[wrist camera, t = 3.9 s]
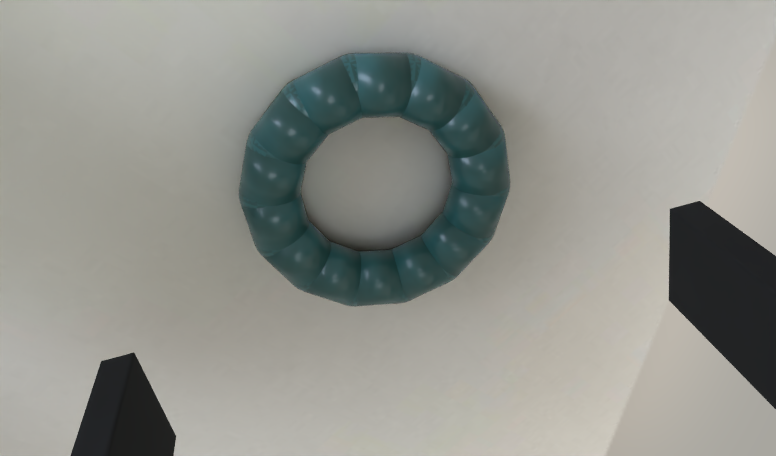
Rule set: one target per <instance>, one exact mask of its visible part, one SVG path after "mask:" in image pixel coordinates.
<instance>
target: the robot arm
mask: <svg viewBox="0 0 776 456" xmlns="http://www.w3.org/2000/svg"><path fill="white" fill-rule="evenodd" d="M669 301H670V302H671V303H672V304H673V305H674V306H675V307H676V308H677V309H678V310H679V311H680V312H681V313H682V314H683V315H684V316H685V317H686V318H687V319H688V320H689V321H690V322H691V323H692V324H693V325H694V326H695V327H696V328H697V329H698V330H699V331H700V332H701V333H702V334H703V335H704V336H705V337H706V339H707V340H708V341H709V342H710V343H711V344H712V345H713V346H714V347H715V348H716V349H717V350H718V351H719V352H720V353H721V354H722V355H723V356H724V357H725V358H726V359H727V360H728V361H729V362H730V363H731V364H732V365H733V366H734V367H735V368H736V369H737V370H738V371H739V372H740V373H741V374H742V375H743V376H744V377H745V378H746V379H747V380H748V381H749V382H750V383H751V384H752V386H754V388H755V389H756V390H757V391H758V392H759V393H760V394H761V395H762V396H763V397H764V398H765V399H767V401H768V402H769V403H770V404H771V405H772V406H773V407H774V408H775V409H776V256H775V255H773V254H772V253H771V252H769V251H768V250H766V249H765V248H764V247H762V246H761V245H760V244H758V243H757V242H755V241H754V240H753V239H751V238H750V237H749V236H747V235H746V234H744V233H743V232H742V231H740V230H739V229H738V228H736V227H735V226H733V225H732V224H731V223H729V222H728V221H727V220H725V219H724V218H722V217H721V216H720V215H718V214H717V213H716V212H714V211H713V210H711V209H710V208H709V207H707V206H706V205H705V204H703V203H702V202H700V201H698V202H694V203H690V204H687V205H683V206H679V207H675V208H672V209H670V251H669ZM175 440H176V435H175V433H174V431H173V429H172V427H171V425H170V423H169V421H168V419H167V417H166V415H165V413H164V411H163V409H162V407H161V405H160V403H159V401H158V399H157V397H156V395H155V393H154V391H153V389H152V387H151V385H150V383H149V381H148V379H147V377H146V375H145V373H144V371H143V369H142V367H141V365H140V363H139V361H138V359H137V357H136V355H135V353H130V354H127V355H123V356H119V357H116V358H112V359H108V360H104V361H101V364H100V367H99V370H98V373H97V376H96V379H95V382H94V385H93V388H92V391H91V395H90V398H89V401H88V404H87V407H86V410H85V413H84V416H83V419H82V422H81V425H80V428H79V432H78V435H77V438H76V441H75V444H74V447H73V450H72V453H71V456H173V453H174V447H175Z"/></svg>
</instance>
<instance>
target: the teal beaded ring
mask: <svg viewBox="0 0 776 456" xmlns="http://www.w3.org/2000/svg"><path fill="white" fill-rule="evenodd" d="M368 117H401V118H403V119H405V120H408V121H410V122H412V123H414V124H416V125H419V126H421V127H423V128H425V129H428V130H429V131H430V132H431V133H432V134H433V136H434V137H435V138H436V140H437V141H438V142H439V143H440V145H441V146H442V147H443V149H444V150H445V151H446V152H447V154H448V159H449V165H450V171H451V177H452V185H451V188H450V191H449V194H448V197H447V200H446V204H445V207H444V210H443V212H442V213H441V214H440V215H439V216H438V217H437V218H436V220H435V221H434V222H433V223H432V224H431V225H430V226H429V227H428V228H427V230H426V231H425V232H424V233H423V234H422V235H421V236H419V237H416V238H414V239H412V240H410V241H408V242H406V243H404V244H402V245H400V246H398V247H396V248H393V249H391V250H375V251H355V250H353V249H350V248H347V247H344V246H342V245H339V244H336V243H333V242H331V241H328V240H327V239H326V237H325V236H324V235H323V234H322V233H321V232H320V231H319V230H318V229H317V228H316V227H315V226H314V225H313V224H312V223H311V222H310V221H309V220H308V217H307V214H306V211H305V207H304V204H303V200H302V197H301V194H300V191H301V186H302V181H303V177H304V172H305V167H306V162H307V161H308V159H309V158H310V157H311V156H312V154H313V153H314V152H315V151H316V149H317V148H318V147H319V146H320V144H321V143H322V142H323V141H324V139H325V138H326V137H327V136H328V134H330V133H332V132H334V131H336V130H338V129H340V128H342V127H344V126H346V125H348V124H351V123H353V122H355V121H357V120H359V119H361V118H368ZM509 190H510V175H509V167H508V158H507V150H506V142H505V135H504V131H503V129H502V127H501V125H500V123H499V122H498V121H497V119H496V118H495V116H494V115H493V113H492V112H491V111H490V109H489V108H488V106H487V105H486V104H485V102H484V101H483V99H482V98H481V97H480V95H479V94H478V92H477V91H476V89H475V88H474V87H473V85H472V84H471V83H470V82H469V81H468V80H466V79H465V78H463V77H461V76H459V75H457V74H455V73H453V72H451V71H449V70H447V69H445V68H443V67H441V66H439V65H437V64H435V63H433V62H431V61H428V60H426V59H424V58H422V57H420V56H418V55H415V54H412V53H352V54H346V55H343V56H341V57H338V58H336V59H334V60H332V61H330V62H328V63H326V64H324V65H322V66H321V67H319V68H317V69H315V70H313V71H311V72H309V73H307V74H305V75H303V76H301V77H299V78H297V79H295V80H293V81H291V82H290V83H288V84H287V85H286V86H285V87H284V88H283V89H282V91H281V92H280V93H279V95H278V96H277V97H276V99H275V100H274V101H273V103H272V104H271V105H270V106H269V108H268V109H267V110H266V112H265V113H264V114H263V116H262V117H261V118H260V120H259V121H258V122H257V124H256V125H255V126H254V128H253V129H252V130H251V132H250V134H249V136H248V139H247V144H246V150H245V156H244V162H243V168H242V174H241V180H240V186H239V199H240V203H241V206H242V209H243V212H244V215H245V218H246V221H247V223H248V226H249V229H250V232H251V235H252V238H253V241H254V243H255V246H256V248H257V250H258V251H259V253H260V254H261V255H262V256H263V257H264V258H265V259H266V260H267V261H268V262H269V263H271V264H272V265H273V266H274V267H275V268H276V269H277V270H278V271H279V272H280V273H281V274H282V275H283V276H284V277H285V278H286V279H288V280H289V281H290V282H291V283H292V284H293V285H294V286H295V287H297V288H298V289H300V290H302V291H304V292H307V293H310V294H313V295H316V296H319V297H322V298H325V299H329V300H332V301H335V302H338V303H341V304H344V305H347V306H367V305H381V304H395V303H404V302H407V301H410V300H412V299H414V298H416V297H418V296H421V295H423V294H425V293H427V292H429V291H431V290H433V289H435V288H437V287H440V286H442V285H444V284H446V283H448V282H450V281H452V280H454V279H455V278H456V277H457V276H458V275H459V274H460V273H461V272H462V271H463V270H464V269H465V268H466V267H467V266H468V265H469V264H470V262H471V261H472V260H473V259H474V258H475V257H476V256H477V255H478V254H479V253H480V252H481V251H482V250H483V249H484V247H485V246H486V245H487V244H488V243H489V242H490V241H491V239H492V237H493V235H494V233H495V230H496V227H497V224H498V221H499V219H500V216H501V213H502V210H503V207H504V205H505V202H506V199H507V196H508V193H509Z"/></svg>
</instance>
